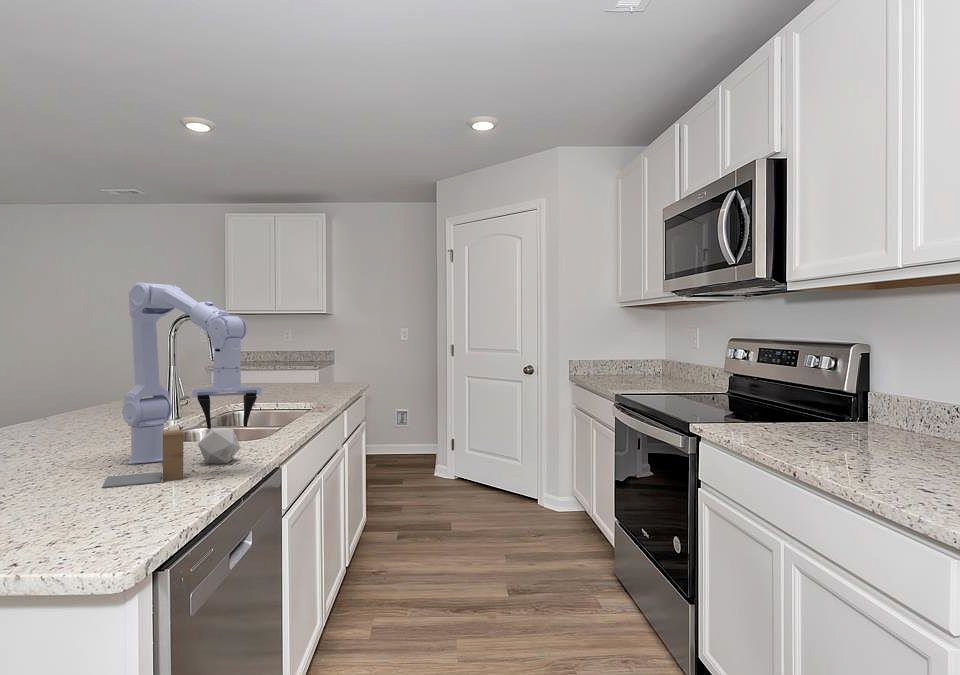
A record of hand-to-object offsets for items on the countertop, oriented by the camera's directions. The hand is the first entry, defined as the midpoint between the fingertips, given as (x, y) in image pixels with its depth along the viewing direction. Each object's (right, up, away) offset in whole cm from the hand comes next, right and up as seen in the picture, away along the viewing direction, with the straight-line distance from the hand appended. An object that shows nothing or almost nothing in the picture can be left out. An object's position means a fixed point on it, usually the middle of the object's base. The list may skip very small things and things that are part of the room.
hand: (227, 427), depth 136 cm
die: (-6, -10, +11) cm, 16 cm away
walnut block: (-10, -10, -5) cm, 15 cm away
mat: (-17, -10, -8) cm, 21 cm away
